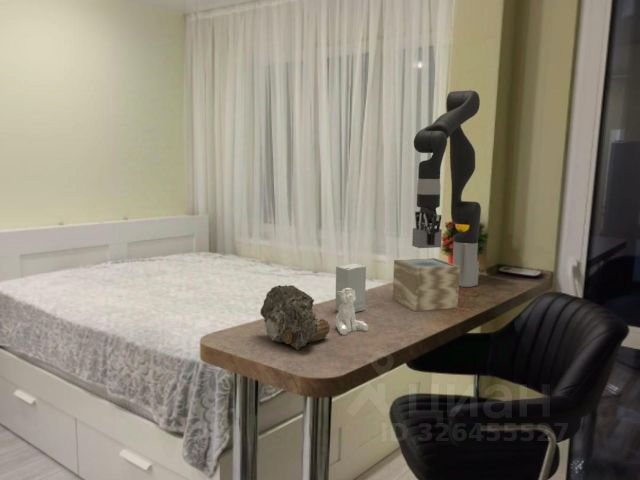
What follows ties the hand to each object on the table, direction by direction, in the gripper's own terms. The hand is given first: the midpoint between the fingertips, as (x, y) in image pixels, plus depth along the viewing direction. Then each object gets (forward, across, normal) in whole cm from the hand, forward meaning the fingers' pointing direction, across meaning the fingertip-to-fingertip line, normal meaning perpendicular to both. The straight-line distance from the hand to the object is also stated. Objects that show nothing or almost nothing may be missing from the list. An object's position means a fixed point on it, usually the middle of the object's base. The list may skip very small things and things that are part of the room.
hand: (426, 243), depth 175 cm
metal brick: (+1, 0, 0) cm, 1 cm away
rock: (+20, -27, +51) cm, 61 cm away
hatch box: (+21, +1, 0) cm, 21 cm away
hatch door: (+8, +1, -1) cm, 8 cm away
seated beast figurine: (+21, -20, +35) cm, 45 cm away
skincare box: (+21, -1, +28) cm, 35 cm away
